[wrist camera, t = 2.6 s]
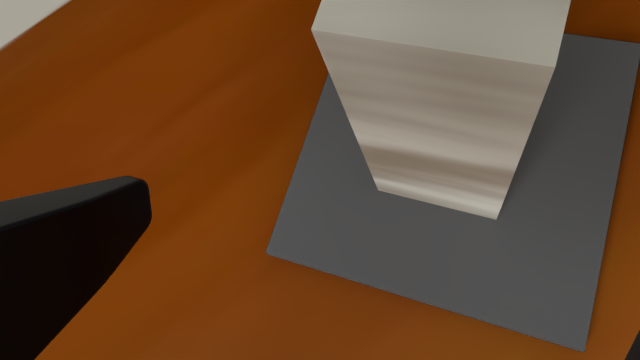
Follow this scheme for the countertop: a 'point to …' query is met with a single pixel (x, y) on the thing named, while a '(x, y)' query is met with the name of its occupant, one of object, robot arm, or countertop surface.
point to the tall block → (442, 90)
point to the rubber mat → (473, 230)
